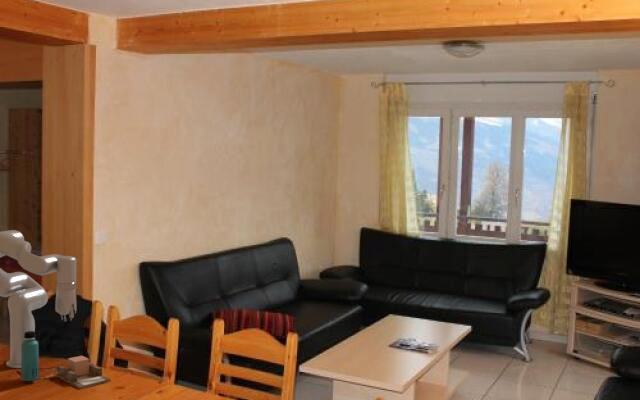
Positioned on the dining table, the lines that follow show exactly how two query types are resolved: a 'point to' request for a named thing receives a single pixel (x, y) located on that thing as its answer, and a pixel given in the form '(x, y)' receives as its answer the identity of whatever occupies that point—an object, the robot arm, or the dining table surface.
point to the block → (79, 365)
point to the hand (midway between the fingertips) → (66, 329)
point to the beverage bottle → (30, 357)
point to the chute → (82, 376)
